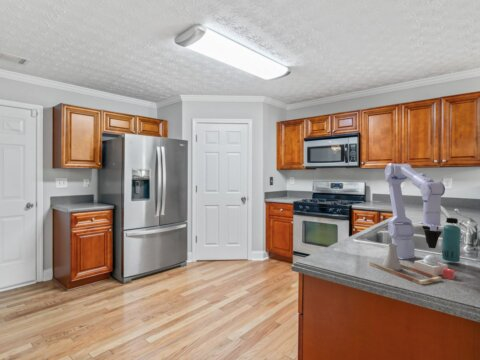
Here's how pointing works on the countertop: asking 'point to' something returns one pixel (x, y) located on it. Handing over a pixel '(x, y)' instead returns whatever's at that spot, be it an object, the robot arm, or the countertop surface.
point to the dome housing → (430, 267)
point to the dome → (430, 260)
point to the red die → (448, 273)
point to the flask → (392, 259)
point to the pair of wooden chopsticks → (432, 277)
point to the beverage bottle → (451, 241)
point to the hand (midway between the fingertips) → (430, 245)
